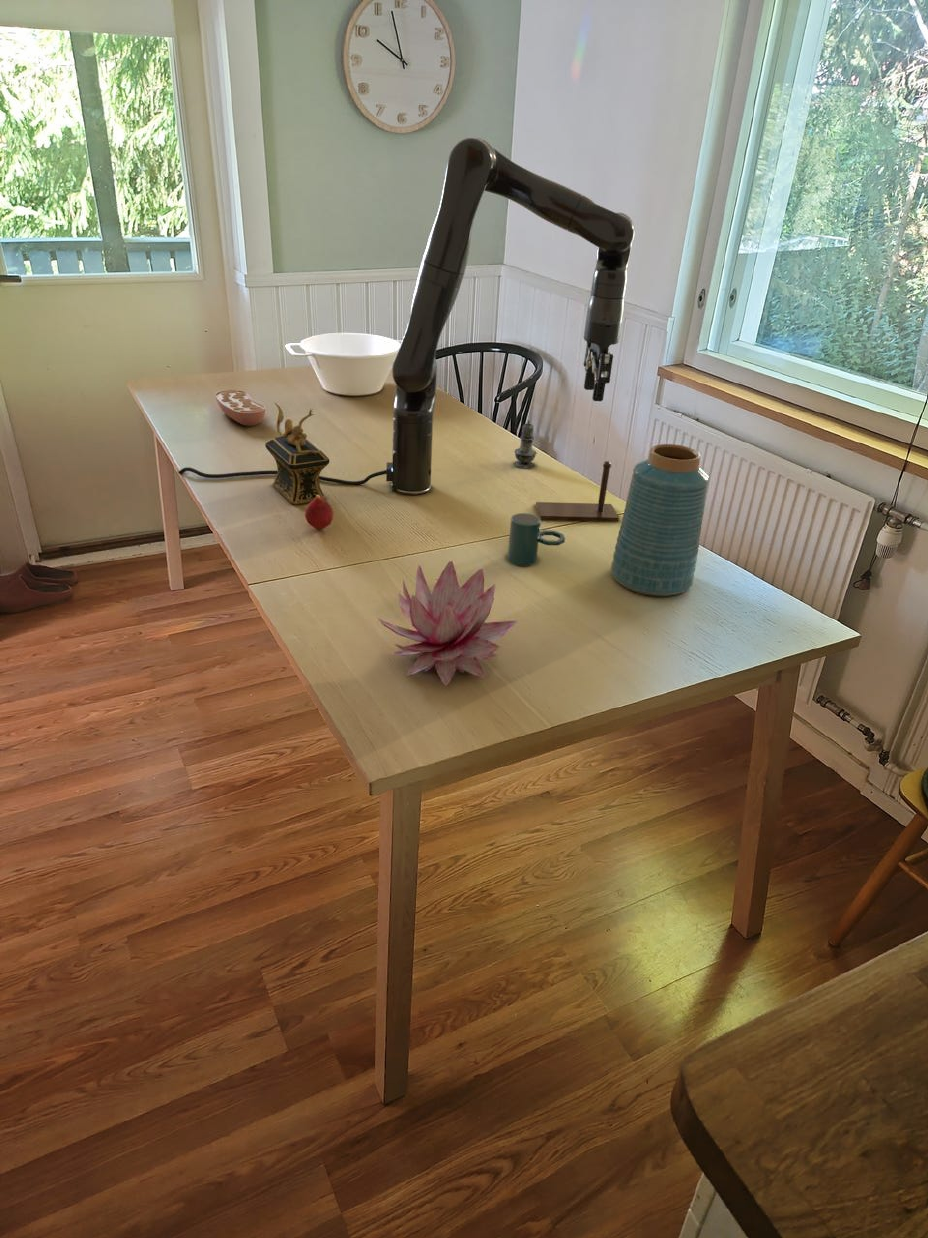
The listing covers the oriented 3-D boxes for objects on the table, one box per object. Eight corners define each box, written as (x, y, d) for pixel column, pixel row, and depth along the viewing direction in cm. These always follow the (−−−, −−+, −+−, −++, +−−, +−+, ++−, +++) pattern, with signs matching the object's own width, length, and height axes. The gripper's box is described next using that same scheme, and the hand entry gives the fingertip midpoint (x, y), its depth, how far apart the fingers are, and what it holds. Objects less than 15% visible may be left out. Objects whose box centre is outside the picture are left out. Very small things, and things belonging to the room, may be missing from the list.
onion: (338, 527, 180) (337, 492, 176) (325, 537, 176) (324, 502, 172) (313, 522, 182) (312, 487, 178) (301, 532, 177) (299, 497, 173)
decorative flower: (405, 618, 149) (407, 541, 142) (522, 642, 145) (530, 564, 137) (358, 682, 132) (358, 599, 124) (489, 712, 127) (497, 628, 119)
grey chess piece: (533, 470, 217) (538, 424, 211) (511, 467, 218) (515, 422, 212) (536, 462, 222) (541, 418, 216) (514, 459, 223) (519, 415, 217)
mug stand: (540, 519, 190) (546, 465, 184) (535, 505, 197) (541, 453, 190) (618, 521, 192) (627, 468, 185) (610, 507, 199) (618, 455, 192)
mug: (509, 565, 170) (513, 524, 165) (505, 552, 175) (509, 512, 170) (563, 566, 171) (569, 526, 166) (558, 553, 176) (563, 513, 171)
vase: (675, 608, 158) (704, 474, 145) (596, 582, 165) (617, 453, 152) (702, 576, 170) (732, 450, 157) (628, 554, 177) (649, 431, 164)
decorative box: (332, 501, 192) (330, 417, 182) (292, 508, 187) (288, 422, 177) (299, 472, 206) (296, 392, 196) (261, 478, 202) (256, 396, 192)
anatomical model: (271, 427, 234) (270, 410, 231) (236, 432, 229) (234, 414, 226) (242, 405, 250) (241, 388, 247) (209, 408, 245) (208, 391, 243)
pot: (301, 406, 252) (299, 358, 245) (280, 378, 277) (278, 333, 270) (427, 399, 266) (428, 353, 258) (396, 372, 291) (397, 330, 284)
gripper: (579, 310, 182) (569, 385, 190) (594, 324, 170) (583, 403, 178) (613, 312, 183) (601, 386, 191) (630, 326, 171) (617, 405, 179)
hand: (592, 394), depth 184 cm, fingers open, 8 cm apart
